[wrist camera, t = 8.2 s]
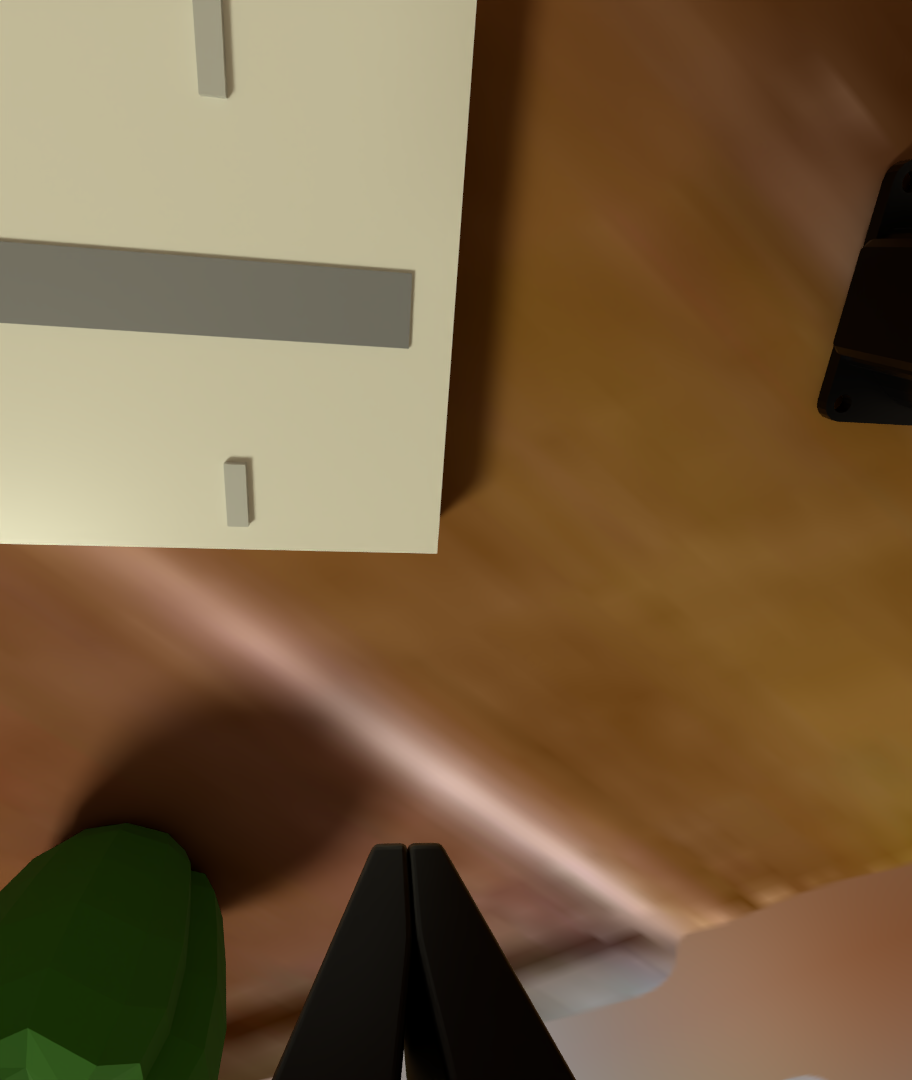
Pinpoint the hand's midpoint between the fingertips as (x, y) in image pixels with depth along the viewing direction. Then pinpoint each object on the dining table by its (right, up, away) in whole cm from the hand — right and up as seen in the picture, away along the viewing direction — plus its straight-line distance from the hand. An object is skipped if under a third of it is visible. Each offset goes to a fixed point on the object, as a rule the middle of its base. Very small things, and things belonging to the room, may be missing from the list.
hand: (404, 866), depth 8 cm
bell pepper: (-11, -8, +16) cm, 21 cm away
